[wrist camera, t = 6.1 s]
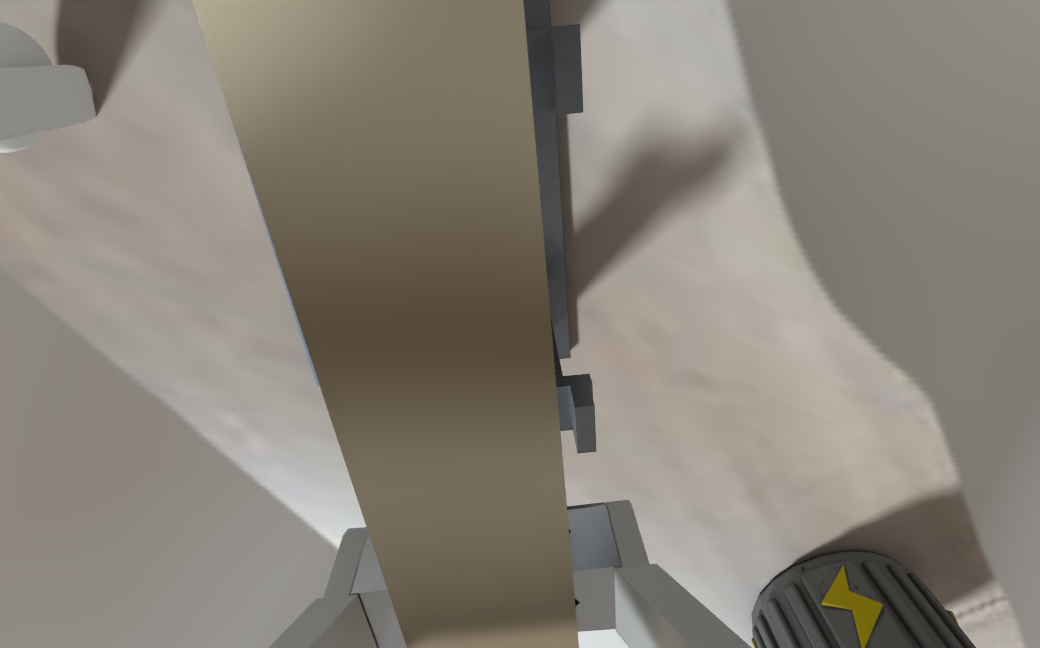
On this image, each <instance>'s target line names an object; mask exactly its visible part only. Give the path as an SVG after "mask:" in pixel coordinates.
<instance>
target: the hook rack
mask: <svg viewBox="0 0 1040 648" xmlns="http://www.w3.org/2000/svg"><path fill="white" fill-rule="evenodd" d="M523 3H524V14H525V26H526V38H527V49H528V61H529V72H530V84H531V96H532V107H533V119H534V131H535V142H536V154H537V166H538V177H539V189H540V201H541V212H542V224H543V236H544V247H545V259H546V271H547V282H548V294H549V306H550V317H551V329H552V340H553V352H554V364H555V375H556V387H557V399H558V410H559V422H560V431H565V430H573V433H574V438H575V443H576V448H577V453H586V452H596V432H595V406H594V402H593V391H592V381H591V378H590V374H582V375H572V376H563V375H562V370H561V365H560V360H559V359H564V358H571V355H570V338H569V322H568V305H567V289H566V272H565V256H564V239H563V222H562V206H561V189H560V173H559V156H558V140H557V123H556V114H557V115H562V114H572V113H581V112H583V94H582V68H581V42H580V24H577V25H568V26H558V27H552V28H551V24H550V7H549V0H523Z"/></svg>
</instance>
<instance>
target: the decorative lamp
mask: <svg viewBox="0 0 1040 648" xmlns="http://www.w3.org/2000/svg"><path fill="white" fill-rule="evenodd" d="M752 623H753V629H752V632H753V638H752V643H753V645H754V648H976V647H975V646H974V645H973V643H972V642H971V641H970V640H969V638H968V637H967V636H966V635H965V633H964V632H963V631H962V630H961V628H960V627H959V625H958V623H957V620H956V618H955V616H954V614H953V612H952V611H948V610H945V609H944V607H943V606H942V605H941V604H940V602H939V601H938V600H937V599H936V597H935V596H934V595H933V594H932V592H931V591H930V590H929V589H928V587H927V586H926V585H925V584H924V583H923V582H922V581H921V580H920V579H919V578H918V577H917V576H916V575H915V574H913V573H909V572H908V570H907V569H906V568H904V567H903V566H902V565H900V564H899V563H898V562H896V561H895V560H894V559H893V558H889V557H886V556H882V555H879V554H875V553H872V552H850V551H842V552H837V553H832V554H827V555H822V556H817V557H815V558H812V559H810V560H807V561H805V562H802V563H800V564H797V565H795V566H793V567H792V568H790V569H789V570H787V571H786V572H784V573H783V574H781V575H780V576H778V577H777V578H775V579H774V580H773V581H772V582H771V583H770V584H769V585H768V587H767V588H766V589H765V590H764V591H763V592H762V593H761V594H760V596H759V598H758V600H757V602H756V605H755V607H754V610H753V612H752Z"/></svg>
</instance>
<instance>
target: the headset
mask: <svg viewBox="0 0 1040 648" xmlns="http://www.w3.org/2000/svg"><path fill="white" fill-rule="evenodd" d="M95 117H96V111H95V106H94V102H93V97H92V92H91V88H90V84H89V81H88V79H87V76H86V73H85V70H84V69H83V68H80V67H77V66H74V65H52V63H51V61H50V59H49V57H48V55H47V54H46V52H45V51H44V50H43V48H42V47H41V46H40V45H39V44H38V43H37V42H36V41H35V40H34V39H33V38H32V37H30V36H29V35H28V34H26V33H25V32H23V31H22V30H20V29H18V28H16V27H14V26H12V25H9V24H6V23H3V22H0V153H8V152H15V151H19V150H22V149H25V148H27V147H29V146H31V145H33V144H34V143H36V142H37V141H38V140H39V139H40V138H41V137H42V136H43V135H44V134H45V133H46V131H49V130H54V129H58V128H62V127H66V126H71V125H75V124H79V123H83V122H86V121H89V120H92V119H94V118H95Z"/></svg>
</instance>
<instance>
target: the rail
mask: <svg viewBox="0 0 1040 648" xmlns="http://www.w3.org/2000/svg"><path fill="white" fill-rule="evenodd" d="M192 2H193V5H194V8H195V11H196V14H197V17H198V20H199V23H200V26H201V29H202V32H203V35H204V38H205V41H206V44H207V47H208V50H209V53H210V56H211V59H212V62H213V65H214V68H215V71H216V74H217V77H218V80H219V83H220V86H221V89H222V92H223V95H224V98H225V101H226V104H227V107H228V110H229V113H230V116H231V119H232V122H233V125H234V128H235V132H236V135H237V138H238V141H239V144H240V147H241V150H242V153H243V156H244V159H245V162H246V165H247V168H248V171H249V174H250V177H251V180H252V183H253V186H254V189H255V192H256V195H257V198H258V201H259V204H260V207H261V210H262V213H263V216H264V219H265V222H266V225H267V228H268V231H269V234H270V237H271V240H272V243H273V246H274V249H275V252H276V255H277V258H278V261H279V264H280V267H281V270H282V273H283V276H284V279H285V282H286V285H287V288H288V291H289V294H290V297H291V300H292V303H293V306H294V309H295V312H296V315H297V318H298V321H299V324H300V327H301V330H302V333H303V336H304V339H305V342H306V345H307V348H308V351H309V354H310V357H311V360H312V363H313V366H314V370H315V373H316V376H317V379H318V382H319V385H320V388H321V391H322V394H323V397H324V400H325V403H326V406H327V409H328V412H329V415H330V418H331V421H332V424H333V427H334V430H335V433H336V436H337V439H338V442H339V445H340V448H341V451H342V454H343V457H344V460H345V463H346V466H347V469H348V472H349V475H350V478H351V481H352V484H353V487H354V490H355V493H356V496H357V499H358V502H359V505H360V508H361V511H362V514H363V517H364V520H365V523H366V526H367V529H368V532H369V535H370V538H371V541H372V544H373V547H374V550H375V553H376V556H377V559H378V562H379V565H380V568H381V571H382V574H383V577H384V580H385V583H386V586H387V589H388V592H389V595H390V598H391V601H392V604H393V608H394V611H395V614H396V617H397V620H398V623H399V626H400V629H401V632H402V635H403V638H404V641H405V644H406V647H407V648H579V643H578V632H577V620H576V609H575V597H574V585H573V574H572V562H571V550H570V539H569V527H568V515H567V504H566V492H565V480H564V469H563V457H562V445H561V434H560V422H559V410H558V399H557V387H556V375H555V364H554V352H553V340H552V329H551V317H550V306H549V294H548V282H547V271H546V259H545V247H544V236H543V224H542V212H541V201H540V189H539V177H538V166H537V154H536V142H535V131H534V119H533V107H532V96H531V84H530V72H529V61H528V49H527V38H526V26H525V14H524V3H523V0H192Z"/></svg>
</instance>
